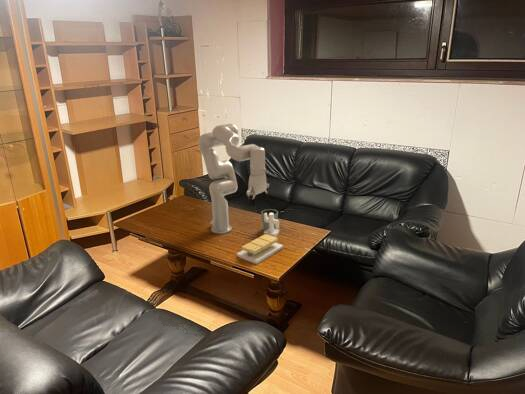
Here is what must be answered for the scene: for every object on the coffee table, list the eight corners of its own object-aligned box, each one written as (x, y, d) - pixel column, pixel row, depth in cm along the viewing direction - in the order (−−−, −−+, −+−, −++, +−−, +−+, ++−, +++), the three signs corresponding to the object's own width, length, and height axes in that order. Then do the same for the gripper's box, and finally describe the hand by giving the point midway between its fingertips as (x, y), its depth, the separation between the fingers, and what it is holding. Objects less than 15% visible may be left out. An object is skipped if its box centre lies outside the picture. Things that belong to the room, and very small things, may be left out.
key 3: (241, 249, 208) (241, 246, 207) (249, 245, 212) (249, 242, 211) (254, 254, 202) (254, 251, 201) (262, 250, 206) (261, 246, 206)
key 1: (258, 240, 218) (258, 237, 217) (265, 236, 222) (265, 233, 221) (271, 244, 212) (271, 241, 211) (278, 240, 216) (278, 237, 216)
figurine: (276, 240, 226) (275, 216, 221) (261, 237, 230) (261, 214, 225) (281, 236, 232) (281, 212, 227) (267, 233, 236) (267, 210, 231)
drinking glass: (276, 234, 235) (276, 215, 231) (260, 232, 237) (259, 214, 232) (279, 227, 244) (279, 209, 240) (263, 226, 246) (263, 208, 242)
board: (236, 256, 209) (236, 249, 208) (264, 241, 226) (264, 235, 225) (256, 264, 201) (256, 257, 200) (283, 247, 217) (283, 241, 216)
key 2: (250, 244, 213) (250, 241, 212) (257, 241, 217) (257, 237, 216) (263, 249, 207) (263, 246, 206) (270, 245, 211) (270, 242, 211)
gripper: (262, 166, 208) (263, 197, 214) (241, 174, 195) (242, 206, 201) (273, 169, 203) (274, 199, 209) (252, 177, 191) (253, 209, 197)
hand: (258, 203), depth 205 cm, fingers open, 9 cm apart
